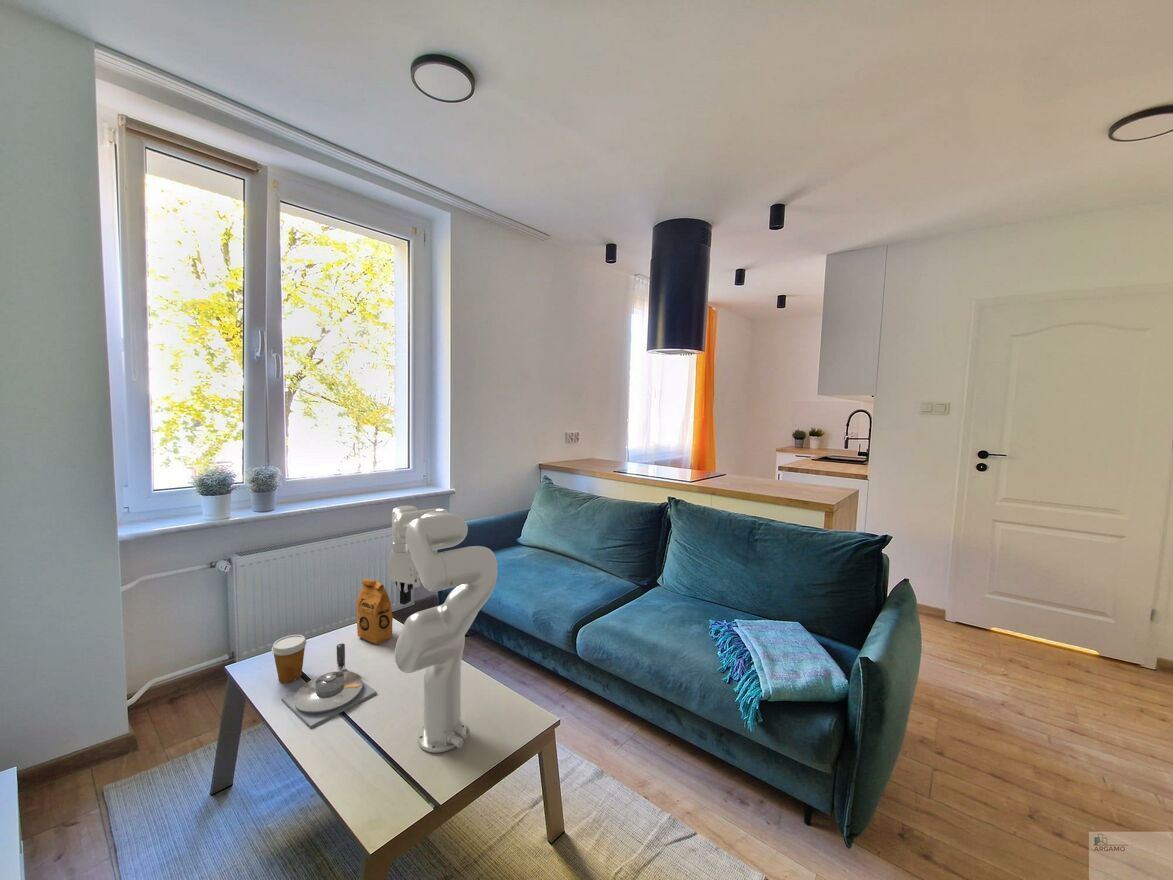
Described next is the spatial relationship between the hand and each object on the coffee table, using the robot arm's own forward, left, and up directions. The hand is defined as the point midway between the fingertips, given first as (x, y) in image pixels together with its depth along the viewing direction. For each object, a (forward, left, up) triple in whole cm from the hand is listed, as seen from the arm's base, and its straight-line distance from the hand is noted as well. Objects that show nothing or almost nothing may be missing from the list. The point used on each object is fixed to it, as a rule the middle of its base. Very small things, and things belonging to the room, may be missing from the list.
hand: (405, 602), depth 145 cm
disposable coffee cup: (+32, +21, -27) cm, 47 cm away
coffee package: (+34, -9, -27) cm, 45 cm away
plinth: (+12, +18, -27) cm, 35 cm away
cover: (+11, +18, -24) cm, 33 cm away
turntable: (+14, +16, -26) cm, 34 cm away
